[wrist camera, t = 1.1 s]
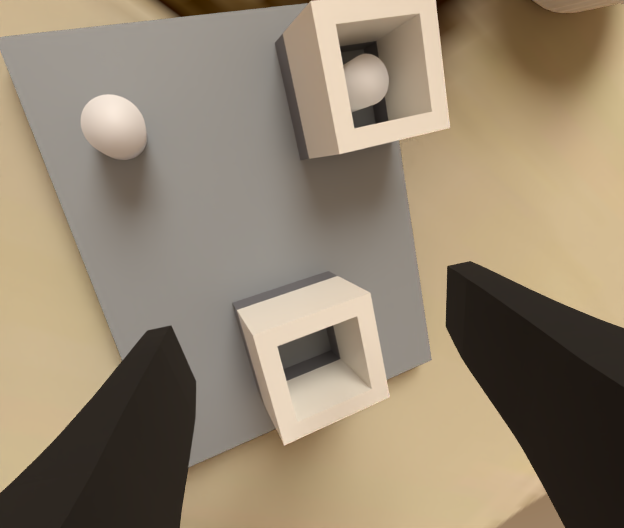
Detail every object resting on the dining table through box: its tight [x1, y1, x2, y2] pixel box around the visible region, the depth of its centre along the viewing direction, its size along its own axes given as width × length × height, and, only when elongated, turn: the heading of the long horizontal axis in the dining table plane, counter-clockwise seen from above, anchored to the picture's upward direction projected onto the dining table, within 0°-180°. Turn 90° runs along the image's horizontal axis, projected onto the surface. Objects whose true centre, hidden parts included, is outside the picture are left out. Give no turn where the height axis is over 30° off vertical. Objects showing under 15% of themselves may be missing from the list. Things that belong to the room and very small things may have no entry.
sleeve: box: [232, 271, 390, 446], centre depth 19 cm, size 5×5×4 cm
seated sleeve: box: [275, 0, 450, 160], centre depth 17 cm, size 5×5×4 cm
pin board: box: [0, 3, 432, 468], centre depth 19 cm, size 20×16×4 cm
